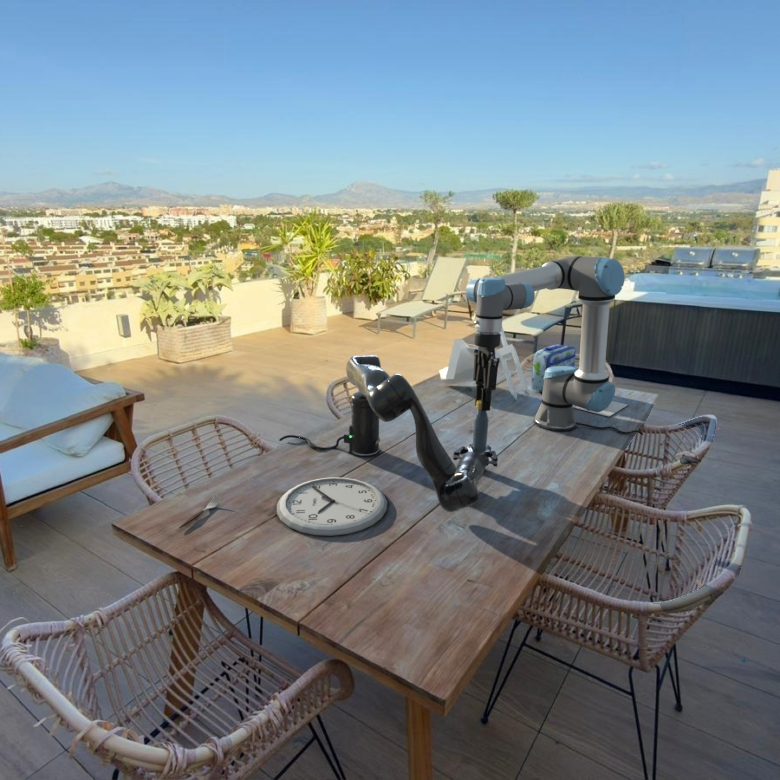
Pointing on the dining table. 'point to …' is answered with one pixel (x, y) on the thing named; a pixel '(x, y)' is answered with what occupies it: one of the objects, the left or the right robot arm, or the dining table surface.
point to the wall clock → (331, 506)
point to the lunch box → (550, 362)
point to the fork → (209, 506)
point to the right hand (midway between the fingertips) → (482, 407)
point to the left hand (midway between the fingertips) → (480, 446)
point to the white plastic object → (464, 364)
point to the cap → (478, 404)
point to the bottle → (480, 431)
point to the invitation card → (608, 409)
